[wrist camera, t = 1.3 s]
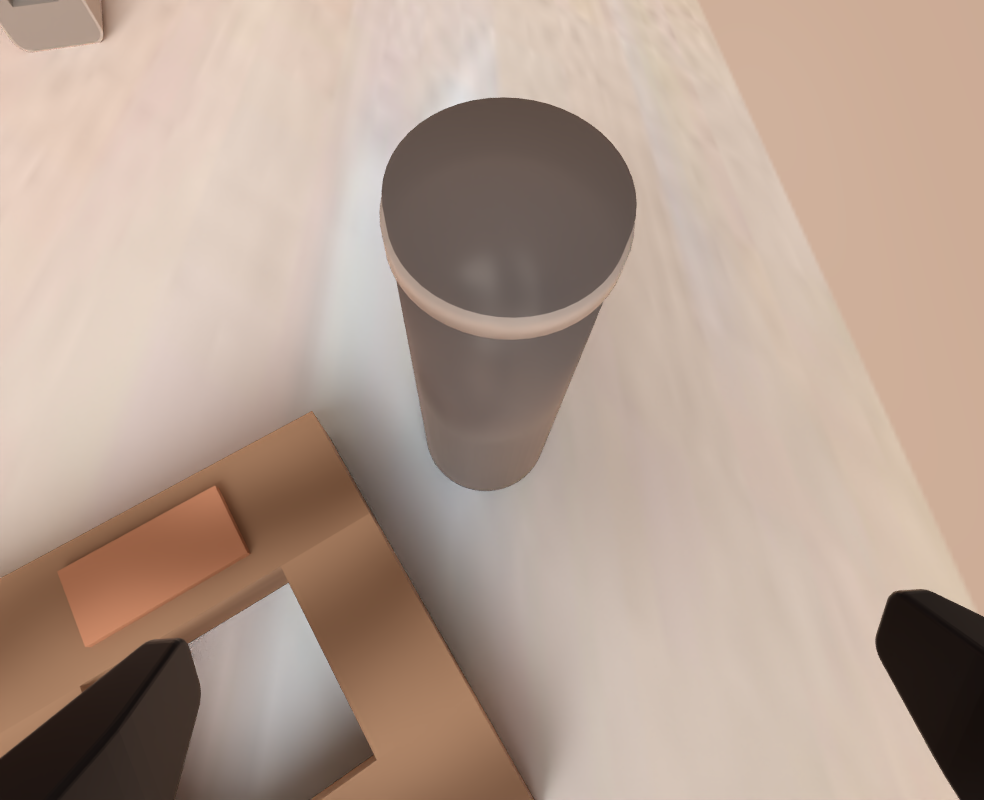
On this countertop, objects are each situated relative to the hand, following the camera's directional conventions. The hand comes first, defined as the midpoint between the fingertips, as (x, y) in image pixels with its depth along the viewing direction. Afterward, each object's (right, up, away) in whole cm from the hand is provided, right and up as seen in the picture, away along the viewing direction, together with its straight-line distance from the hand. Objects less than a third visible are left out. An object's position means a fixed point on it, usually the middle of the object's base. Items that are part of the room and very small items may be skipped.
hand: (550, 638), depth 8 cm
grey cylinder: (-1, +2, +15) cm, 15 cm away
